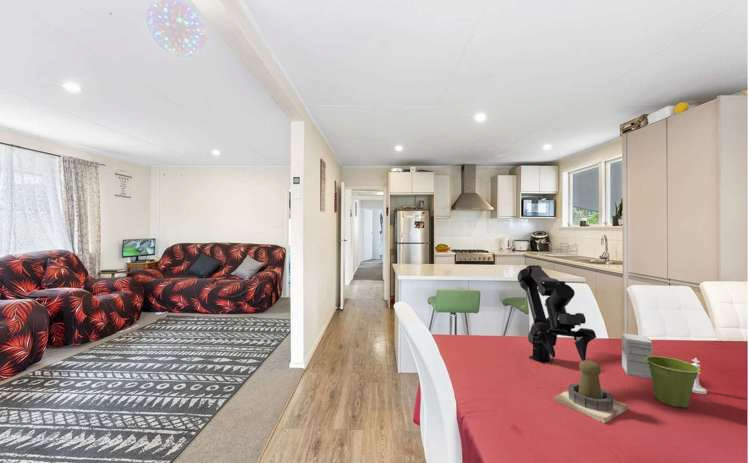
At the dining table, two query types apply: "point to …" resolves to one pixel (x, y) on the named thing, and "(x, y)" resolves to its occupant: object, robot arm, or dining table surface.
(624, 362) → the supplement box
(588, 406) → the collar board
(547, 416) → the dining table surface
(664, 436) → the dining table surface
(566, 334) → the robot arm
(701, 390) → the chess piece
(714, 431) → the dining table surface
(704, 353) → the dining table surface
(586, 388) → the cork
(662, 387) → the plant pot
